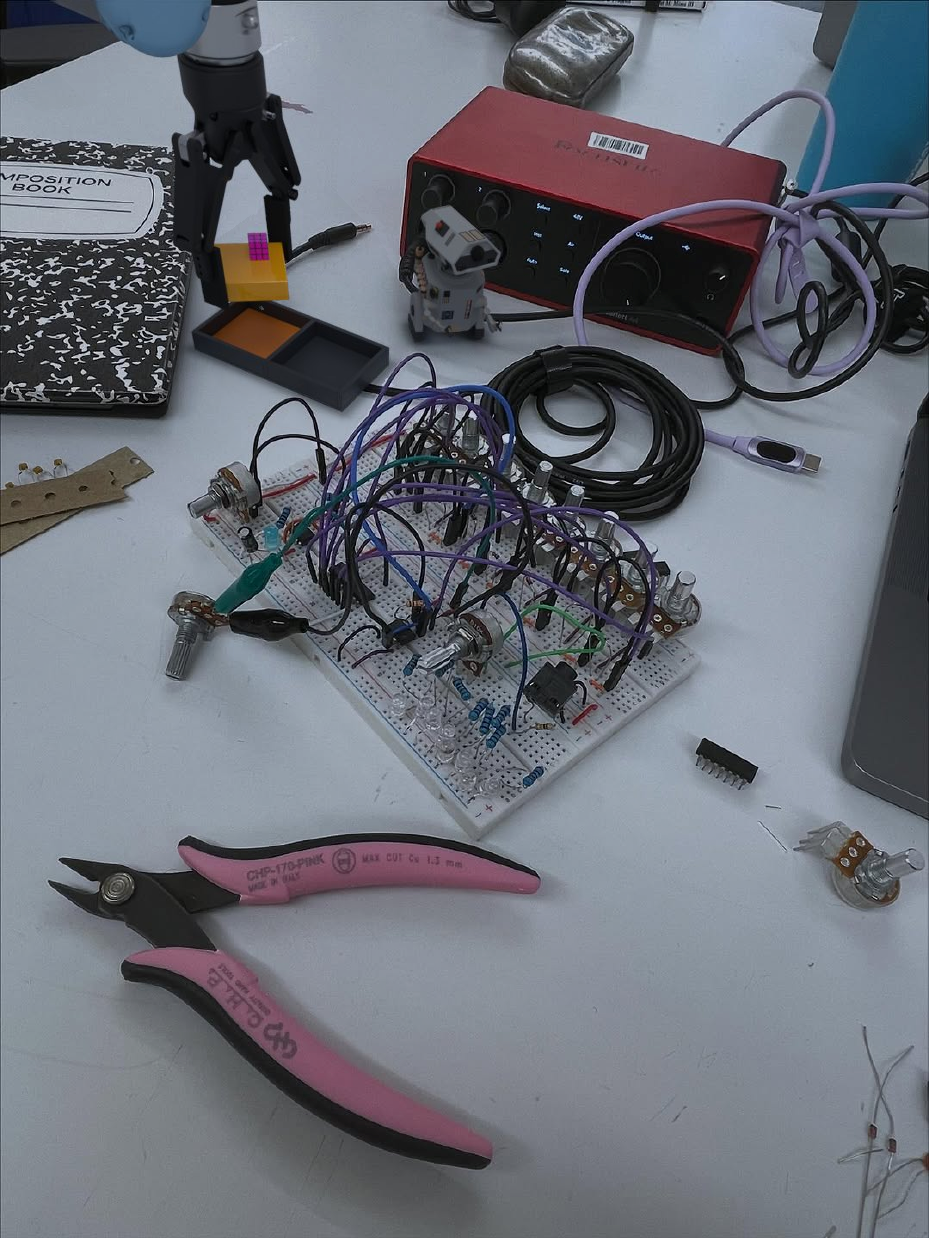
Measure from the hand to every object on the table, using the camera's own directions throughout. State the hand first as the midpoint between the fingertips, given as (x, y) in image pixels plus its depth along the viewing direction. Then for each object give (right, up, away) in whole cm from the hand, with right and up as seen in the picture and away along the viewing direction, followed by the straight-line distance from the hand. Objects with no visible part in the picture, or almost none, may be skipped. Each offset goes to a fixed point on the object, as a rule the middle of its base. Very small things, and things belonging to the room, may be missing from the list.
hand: (250, 279), depth 88 cm
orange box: (0, 0, 0) cm, 0 cm away
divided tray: (+4, -7, +5) cm, 9 cm away
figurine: (+22, -3, +10) cm, 25 cm away
